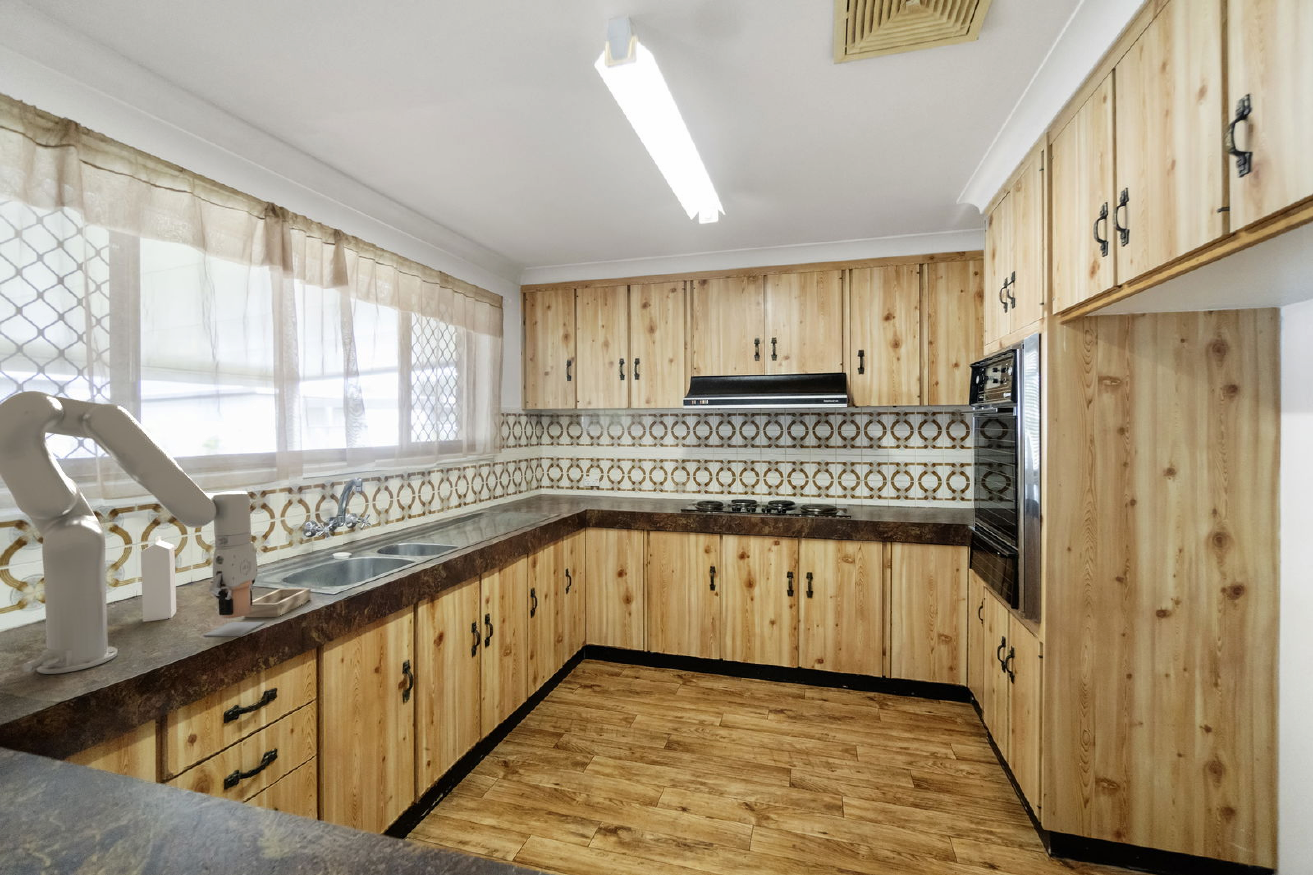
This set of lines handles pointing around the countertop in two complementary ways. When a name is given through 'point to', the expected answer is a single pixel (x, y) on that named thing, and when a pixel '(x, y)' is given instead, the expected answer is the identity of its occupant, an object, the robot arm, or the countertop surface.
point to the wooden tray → (279, 602)
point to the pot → (240, 600)
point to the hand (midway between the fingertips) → (236, 609)
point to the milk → (158, 581)
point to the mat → (234, 629)
